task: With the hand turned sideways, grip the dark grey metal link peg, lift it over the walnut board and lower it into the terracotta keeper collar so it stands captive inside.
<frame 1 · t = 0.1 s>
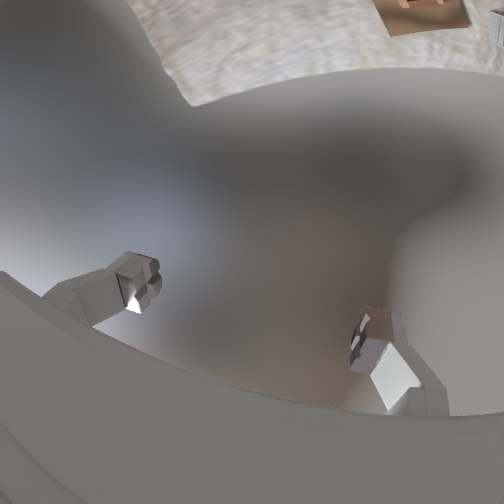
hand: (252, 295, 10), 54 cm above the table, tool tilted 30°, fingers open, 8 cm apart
supplement box: (501, 30, 18), on the table
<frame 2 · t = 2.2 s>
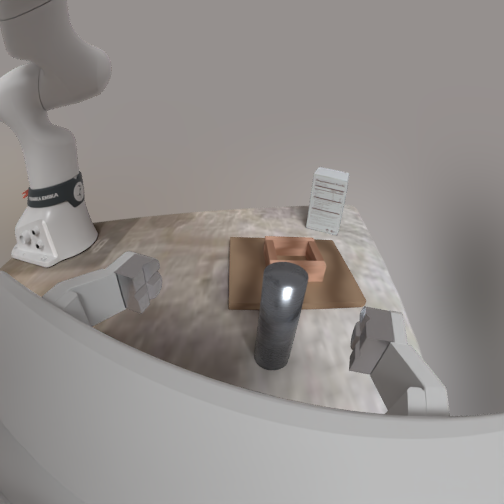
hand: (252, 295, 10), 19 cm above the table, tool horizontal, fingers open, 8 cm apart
link peg: (271, 356, 30), on the table
supplement box: (323, 226, 61), on the table
keeper board: (290, 271, 45), on the table
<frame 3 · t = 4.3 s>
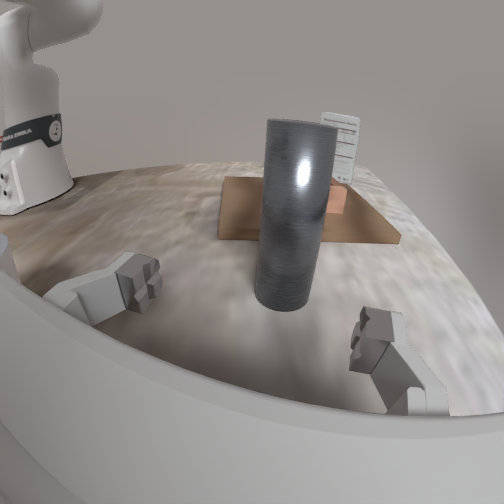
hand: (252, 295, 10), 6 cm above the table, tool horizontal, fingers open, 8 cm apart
link peg: (282, 293, 20), on the table
supplement box: (333, 177, 51), on the table
keeper board: (300, 207, 35), on the table
shot glass: (11, 342, 13), on the table
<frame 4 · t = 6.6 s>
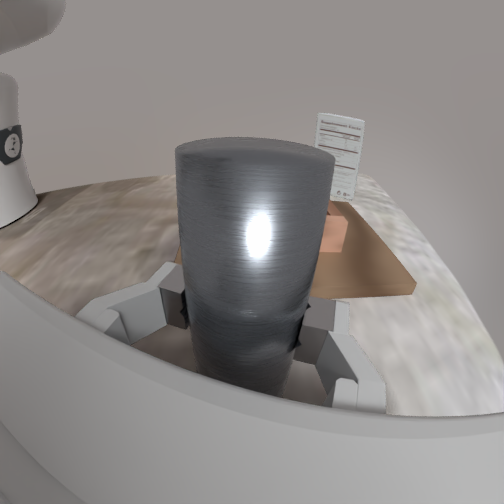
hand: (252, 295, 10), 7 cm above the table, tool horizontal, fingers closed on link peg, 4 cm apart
link peg: (241, 398, 13), on the table, touching gripper
supplement box: (332, 190, 44), on the table
keeper board: (286, 239, 28), on the table
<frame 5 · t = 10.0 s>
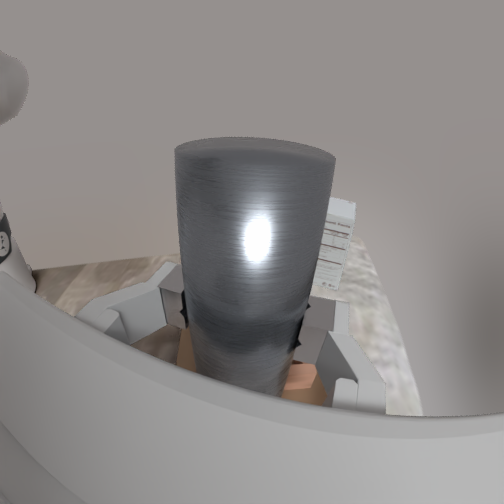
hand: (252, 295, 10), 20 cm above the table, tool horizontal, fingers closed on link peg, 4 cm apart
link peg: (240, 398, 13), point 13 cm above the table, touching gripper
supplement box: (319, 274, 46), on the table
keeper board: (265, 365, 29), on the table
when the fingers open (9 cm above the table, at t = 13.3 s): link peg drops 1 cm, resting on keeper board.
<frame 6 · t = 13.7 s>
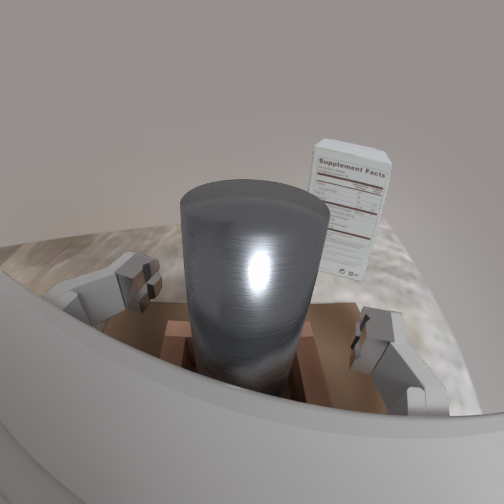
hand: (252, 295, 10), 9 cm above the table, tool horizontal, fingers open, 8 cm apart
link peg: (239, 409, 14), point 1 cm above the table, touching keeper board
supplement box: (332, 259, 30), on the table
keeper board: (239, 417, 14), on the table
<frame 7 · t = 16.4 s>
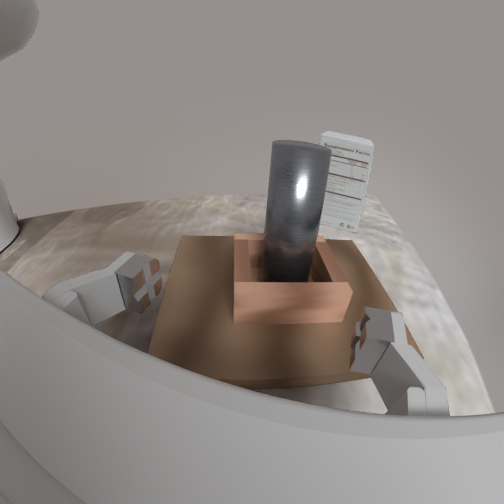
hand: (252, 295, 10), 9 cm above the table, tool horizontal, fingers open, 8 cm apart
link peg: (282, 288, 23), point 1 cm above the table, touching keeper board
supplement box: (334, 219, 40), on the table
keeper board: (280, 298, 24), on the table
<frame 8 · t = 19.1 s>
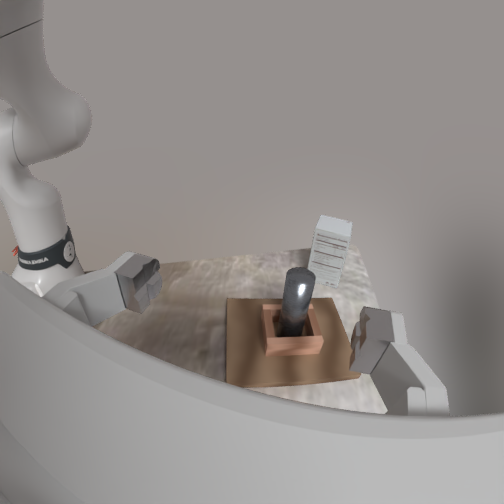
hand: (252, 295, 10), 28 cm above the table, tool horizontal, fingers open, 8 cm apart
link peg: (288, 335, 43), point 1 cm above the table, touching keeper board
supplement box: (323, 276, 60), on the table
keeper board: (287, 339, 43), on the table
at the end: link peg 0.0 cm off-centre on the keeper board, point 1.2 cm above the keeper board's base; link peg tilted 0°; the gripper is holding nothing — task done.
